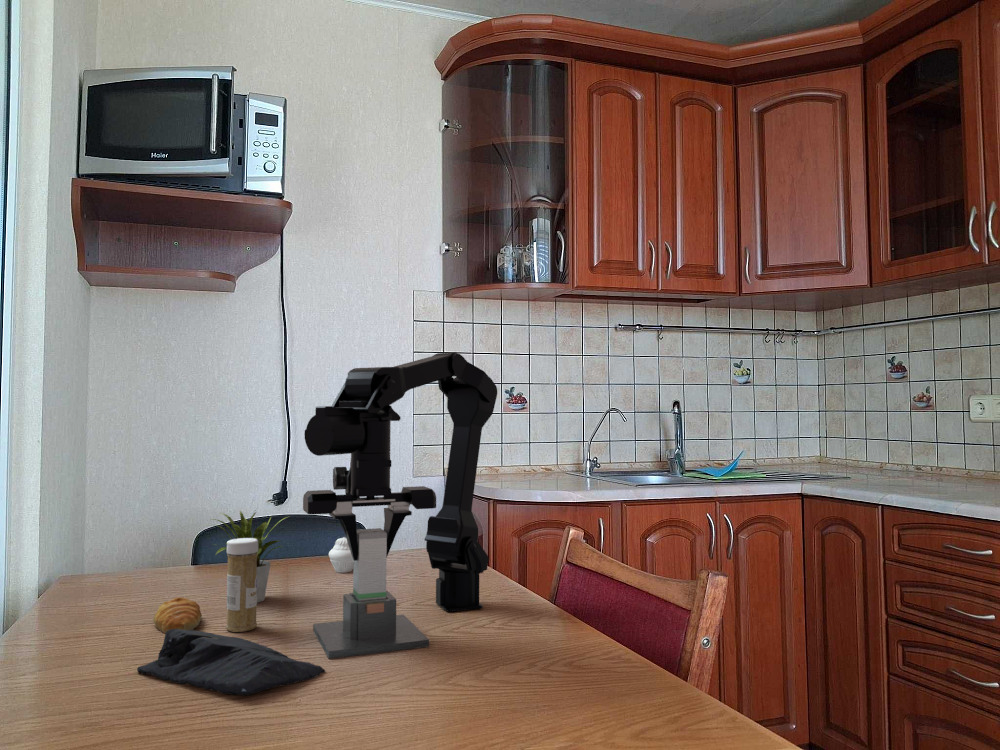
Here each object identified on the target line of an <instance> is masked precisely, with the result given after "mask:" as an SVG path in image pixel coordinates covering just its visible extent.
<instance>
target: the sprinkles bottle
mask: <svg viewBox="0 0 1000 750" xmlns="http://www.w3.org/2000/svg"><path fill="white" fill-rule="evenodd" d="M226 543H227V545H226V547H227V549H226V550H227V551H226V554H227V573H226V609H227V611H226V614H227V615H226V616H227V617H226V626H225V629H226V630H227V631H228V632H231V633H232V632H233V633H244V632H249V631H252V630H255V629H256V628H257V626H258V622H257V605H258V602H257V552H258V540H257V539H254V538H253V537H252V538H238V539H236V538H232V540H231V539H229V540H228V541H227V542H226Z"/></svg>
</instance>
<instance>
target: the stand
mask: <svg viewBox="0 0 1000 750" xmlns="http://www.w3.org/2000/svg"><path fill="white" fill-rule="evenodd" d="M342 606H343V607H342V608H343V609H342V620H337V621H335V620H334V621H327V622H317V623H316V622H315V623H313V624H312V630H313V633H314V635H315V637H316V638H317V640H318V642H319V644H320V645H321V648H322V650H323V651H324V654H325V655H326V657H327V658H328V659H329V660H332V659H339V658H347V657H356V656H363V655H365V656H366V655H373V654H382V653H389V652H398V651H407V650H414V649H422V648H423V649H424V648H429V647H430V639H429V638H428V637H427V636H426V635H425V634H424V632H422V631H421V630H420V629H419V628H418V627H417V625H415V624H414V623H413V622H412V621H411V620H410V619H409V618H408V617H407V616H406V615H405V614H397V598H396V597H395V596H393V594H391V593H390V592H389V591H388V590H386V599H384V600H373V601H363V602H357V601H356V600H355V599H354V598H353V592H349V593H346V594H345V593H343V594H342Z"/></svg>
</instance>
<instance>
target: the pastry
mask: <svg viewBox="0 0 1000 750" xmlns="http://www.w3.org/2000/svg"><path fill="white" fill-rule="evenodd" d="M202 617H203V616H202V611H201V607H200V605H199V604H198V603H197V602H196V601H194V600H191V599H189V598H188V597H187V598H185V597H181V596H180V597H174V598H171V599H170V600H166V601H164V602H163V603H162V604H161V605H159V607H158V609H157V610H156V612H155V614H154V617H153V620H152V622H153V623H154V626H155V628H156V629H157V630H159V631H160V632H162V633H164V634H166V631H168V630H171V629H180V630H192V631H194V629H195V628H197V627H199V625H200V621H201V619H202Z"/></svg>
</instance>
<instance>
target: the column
mask: <svg viewBox="0 0 1000 750" xmlns="http://www.w3.org/2000/svg"><path fill="white" fill-rule="evenodd" d="M357 546H358V554H357V561H354V560H353V569H352V571H353V572H352V573H353V576H352V582H353V583H352V585H353V586H352V593H353V598H354V599H355V600H356V601H357V602H363V601H373V600H384V599H386V591H387V558H388V556H387V532H385V531H384V529H382V528H381V527H380V528H379V527H378V528H363V529H360V528H359V529H357ZM386 557H387V558H386Z"/></svg>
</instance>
